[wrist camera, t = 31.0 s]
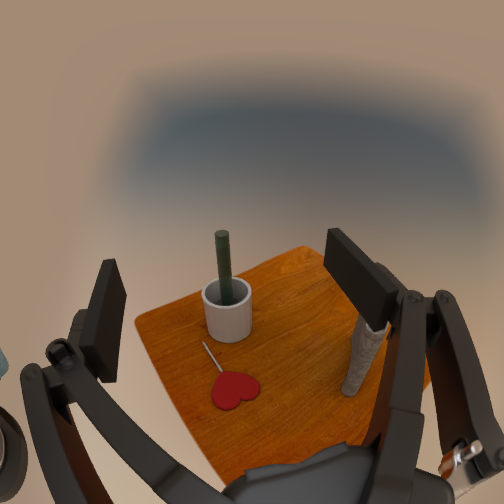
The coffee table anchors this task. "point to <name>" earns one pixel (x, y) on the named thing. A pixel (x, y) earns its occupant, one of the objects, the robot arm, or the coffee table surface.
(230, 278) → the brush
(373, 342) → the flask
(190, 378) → the coffee table surface
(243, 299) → the canister
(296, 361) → the coffee table surface
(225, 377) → the lollipop
